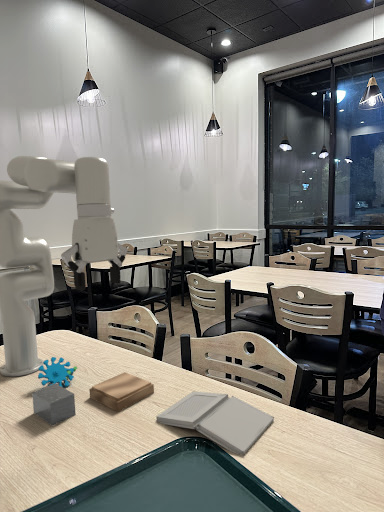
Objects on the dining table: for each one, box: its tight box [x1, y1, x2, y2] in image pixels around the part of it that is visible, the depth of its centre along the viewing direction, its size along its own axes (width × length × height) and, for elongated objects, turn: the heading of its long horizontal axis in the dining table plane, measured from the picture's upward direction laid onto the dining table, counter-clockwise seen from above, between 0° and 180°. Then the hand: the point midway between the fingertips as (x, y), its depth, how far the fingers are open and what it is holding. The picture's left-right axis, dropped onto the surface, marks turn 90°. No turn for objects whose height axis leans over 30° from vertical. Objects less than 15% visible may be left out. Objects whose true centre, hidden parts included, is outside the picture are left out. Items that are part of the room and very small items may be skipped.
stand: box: [88, 372, 155, 413], centre depth 94 cm, size 12×12×3 cm
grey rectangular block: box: [31, 383, 76, 427], centre depth 86 cm, size 9×6×6 cm, turn 49°
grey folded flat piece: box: [155, 390, 275, 456], centre depth 81 cm, size 23×15×4 cm, turn 54°
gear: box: [37, 356, 78, 388], centre depth 103 cm, size 11×6×10 cm
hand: (98, 286), depth 83 cm, fingers open, 9 cm apart
